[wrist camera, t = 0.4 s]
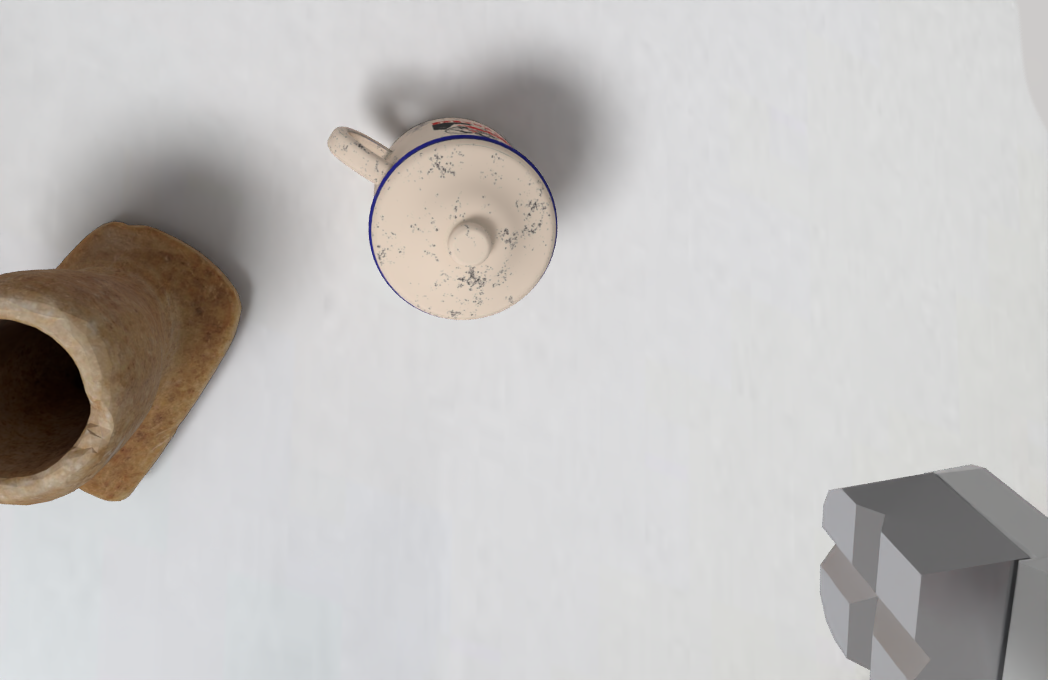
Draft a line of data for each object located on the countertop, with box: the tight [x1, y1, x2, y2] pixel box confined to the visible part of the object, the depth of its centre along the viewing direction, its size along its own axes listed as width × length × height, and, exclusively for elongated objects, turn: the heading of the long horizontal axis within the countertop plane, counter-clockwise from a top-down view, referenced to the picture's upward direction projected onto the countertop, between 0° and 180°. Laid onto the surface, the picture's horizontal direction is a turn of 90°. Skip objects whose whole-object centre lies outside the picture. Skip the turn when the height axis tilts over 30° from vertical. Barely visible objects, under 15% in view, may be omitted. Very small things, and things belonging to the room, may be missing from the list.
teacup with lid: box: [328, 118, 557, 320], centre depth 47 cm, size 12×9×12 cm
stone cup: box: [0, 221, 242, 505], centre depth 46 cm, size 15×12×15 cm
